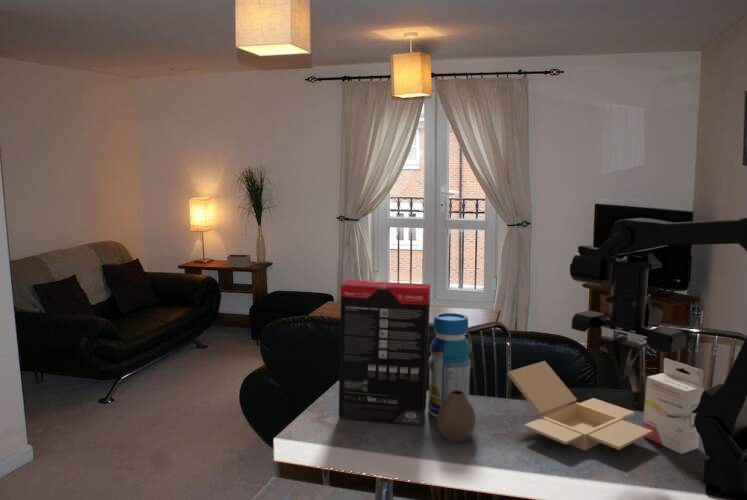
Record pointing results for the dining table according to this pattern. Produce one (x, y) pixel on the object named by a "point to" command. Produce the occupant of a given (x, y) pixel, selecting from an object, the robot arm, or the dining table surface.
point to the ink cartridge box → (673, 406)
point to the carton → (589, 425)
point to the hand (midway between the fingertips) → (622, 377)
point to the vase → (456, 417)
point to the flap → (541, 387)
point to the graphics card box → (384, 351)
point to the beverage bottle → (448, 359)
